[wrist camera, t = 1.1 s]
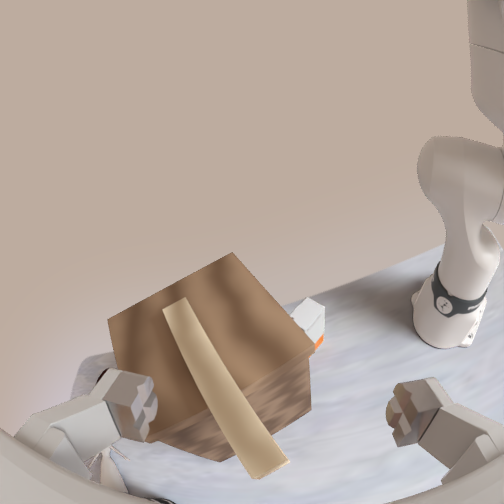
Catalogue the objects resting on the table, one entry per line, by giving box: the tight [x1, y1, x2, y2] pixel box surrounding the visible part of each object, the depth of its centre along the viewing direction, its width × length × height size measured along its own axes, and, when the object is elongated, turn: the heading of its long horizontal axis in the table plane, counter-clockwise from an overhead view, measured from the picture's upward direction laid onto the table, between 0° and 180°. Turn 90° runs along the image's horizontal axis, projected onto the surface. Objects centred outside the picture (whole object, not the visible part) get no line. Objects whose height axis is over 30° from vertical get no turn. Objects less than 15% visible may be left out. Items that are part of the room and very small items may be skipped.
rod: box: [162, 297, 290, 479], centre depth 23 cm, size 3×20×3 cm, turn 30°
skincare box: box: [289, 297, 325, 358], centre depth 49 cm, size 6×4×12 cm
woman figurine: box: [88, 445, 130, 493], centre depth 36 cm, size 12×4×18 cm
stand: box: [108, 252, 315, 462], centre depth 38 cm, size 20×18×26 cm
